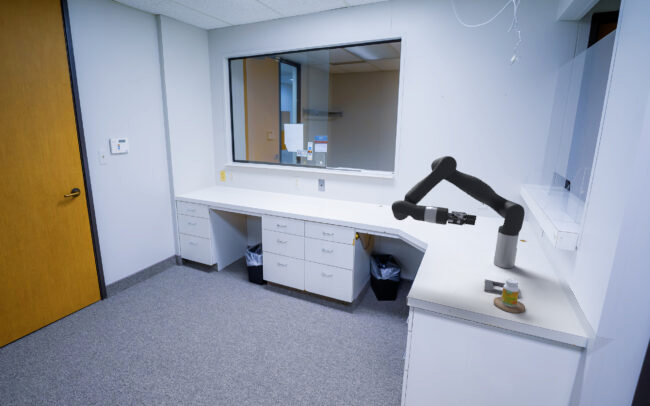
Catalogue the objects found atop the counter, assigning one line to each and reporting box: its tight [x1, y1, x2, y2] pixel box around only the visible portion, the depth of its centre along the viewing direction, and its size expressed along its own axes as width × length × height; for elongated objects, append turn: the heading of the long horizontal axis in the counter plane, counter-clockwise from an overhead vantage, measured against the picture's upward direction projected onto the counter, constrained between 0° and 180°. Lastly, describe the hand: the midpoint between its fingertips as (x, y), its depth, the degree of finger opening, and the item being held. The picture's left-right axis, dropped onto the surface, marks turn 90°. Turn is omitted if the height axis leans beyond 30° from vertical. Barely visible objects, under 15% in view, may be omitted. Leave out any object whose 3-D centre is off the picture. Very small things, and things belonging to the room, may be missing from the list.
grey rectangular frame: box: [483, 279, 521, 299], centre depth 141 cm, size 10×13×1 cm
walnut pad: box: [492, 296, 526, 314], centre depth 128 cm, size 11×11×1 cm
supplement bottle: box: [501, 278, 520, 307], centre depth 127 cm, size 5×5×10 cm
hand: (475, 220), depth 138 cm, fingers open, 8 cm apart
